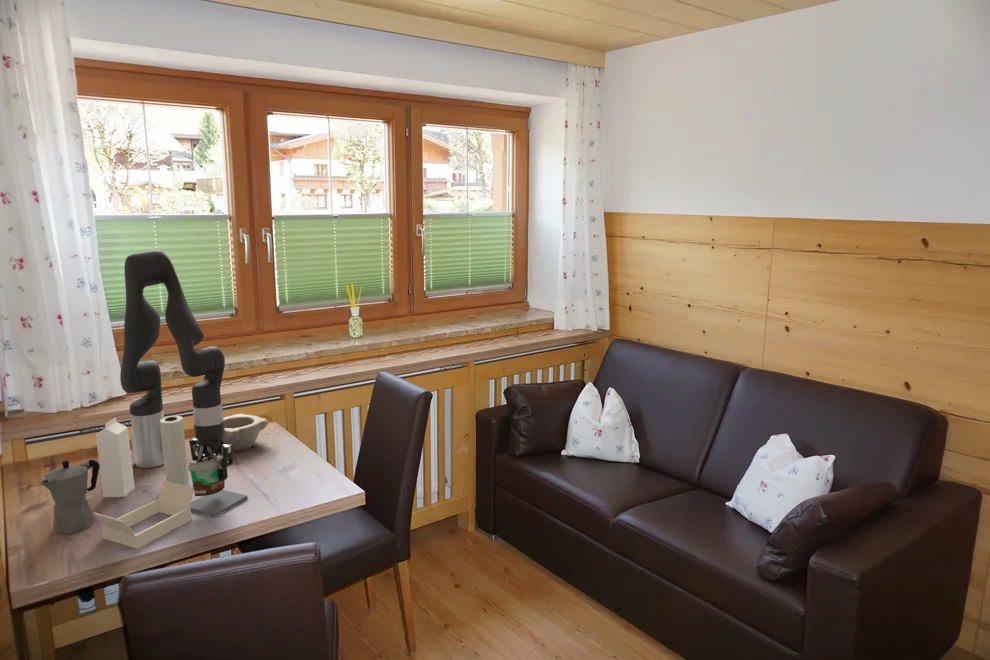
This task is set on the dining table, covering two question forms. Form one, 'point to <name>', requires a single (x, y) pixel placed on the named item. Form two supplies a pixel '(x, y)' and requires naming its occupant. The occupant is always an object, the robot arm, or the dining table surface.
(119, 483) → the milk
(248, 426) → the mortar
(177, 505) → the carton
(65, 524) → the coffeepot
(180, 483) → the paper towel roll
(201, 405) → the robot arm
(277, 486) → the dining table surface
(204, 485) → the food container
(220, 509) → the trivet
